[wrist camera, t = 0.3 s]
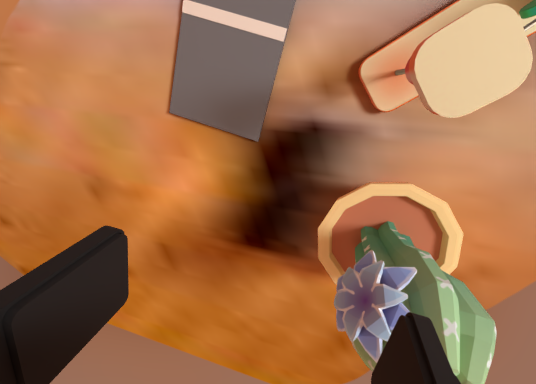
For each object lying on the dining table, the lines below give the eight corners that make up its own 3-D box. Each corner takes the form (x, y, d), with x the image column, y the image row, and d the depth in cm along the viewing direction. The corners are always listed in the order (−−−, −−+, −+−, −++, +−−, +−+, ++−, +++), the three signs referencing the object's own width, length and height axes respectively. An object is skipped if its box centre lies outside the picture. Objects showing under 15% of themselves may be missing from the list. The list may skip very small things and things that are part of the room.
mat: (211, -190, 28) (208, -196, 27) (338, -162, 27) (338, -168, 26) (171, 112, 40) (168, 112, 39) (258, 140, 39) (257, 141, 38)
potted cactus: (427, 147, 35) (615, 272, 12) (446, 254, 39) (609, 499, 16) (305, 178, 39) (268, 312, 16) (334, 271, 43) (336, 480, 21)
